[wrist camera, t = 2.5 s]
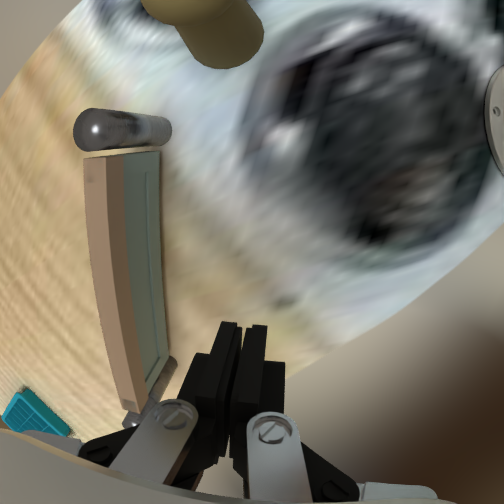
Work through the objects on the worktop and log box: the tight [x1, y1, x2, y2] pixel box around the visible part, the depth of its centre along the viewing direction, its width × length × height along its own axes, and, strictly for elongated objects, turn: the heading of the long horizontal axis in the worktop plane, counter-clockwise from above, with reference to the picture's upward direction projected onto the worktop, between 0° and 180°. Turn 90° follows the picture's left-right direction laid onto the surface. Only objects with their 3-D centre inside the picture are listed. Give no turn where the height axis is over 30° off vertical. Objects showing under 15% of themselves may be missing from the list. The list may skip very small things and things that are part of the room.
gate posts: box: [73, 108, 177, 429], centre depth 22 cm, size 2×24×10 cm, turn 177°
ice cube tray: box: [2, 389, 70, 437], centre depth 41 cm, size 12×20×3 cm, turn 132°
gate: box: [83, 151, 169, 414], centre depth 22 cm, size 19×2×8 cm, turn 177°
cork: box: [141, 0, 264, 69], centre depth 15 cm, size 6×6×11 cm
